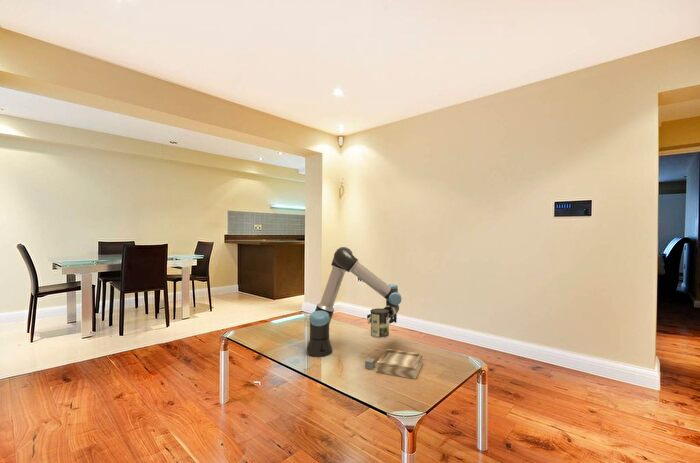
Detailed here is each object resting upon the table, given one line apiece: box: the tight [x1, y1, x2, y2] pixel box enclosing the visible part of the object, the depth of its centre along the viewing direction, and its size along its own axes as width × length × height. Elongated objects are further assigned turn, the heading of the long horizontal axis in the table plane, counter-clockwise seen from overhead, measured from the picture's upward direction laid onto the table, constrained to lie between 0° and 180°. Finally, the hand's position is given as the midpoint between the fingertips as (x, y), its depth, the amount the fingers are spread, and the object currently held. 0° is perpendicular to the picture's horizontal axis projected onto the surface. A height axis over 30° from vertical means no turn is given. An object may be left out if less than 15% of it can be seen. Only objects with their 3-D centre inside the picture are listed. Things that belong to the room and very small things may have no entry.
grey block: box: [364, 357, 376, 370], centre depth 167 cm, size 4×4×4 cm
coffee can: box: [370, 307, 390, 339], centre depth 176 cm, size 10×10×14 cm
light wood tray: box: [376, 348, 423, 380], centre depth 167 cm, size 20×20×5 cm
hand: (377, 322), depth 172 cm, fingers closed on coffee can, 10 cm apart
